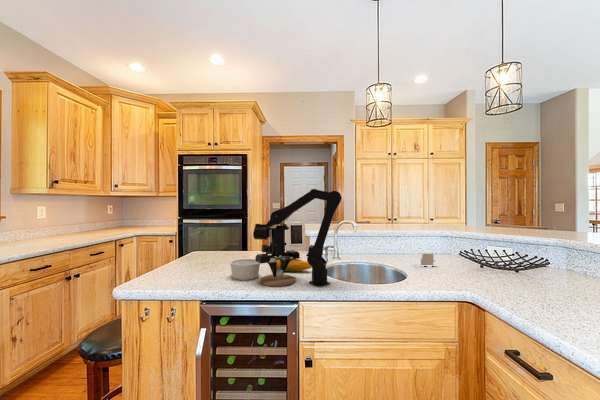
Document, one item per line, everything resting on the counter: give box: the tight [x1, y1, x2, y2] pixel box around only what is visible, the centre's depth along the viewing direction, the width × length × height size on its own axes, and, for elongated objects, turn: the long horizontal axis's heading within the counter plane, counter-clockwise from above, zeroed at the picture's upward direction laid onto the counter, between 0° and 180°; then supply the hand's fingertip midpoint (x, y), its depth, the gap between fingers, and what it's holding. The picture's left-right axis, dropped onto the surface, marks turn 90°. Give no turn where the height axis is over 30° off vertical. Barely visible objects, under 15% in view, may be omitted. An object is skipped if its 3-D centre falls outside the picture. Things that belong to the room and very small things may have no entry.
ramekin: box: [230, 258, 261, 281], centre depth 121 cm, size 13×13×7 cm
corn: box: [275, 257, 312, 273], centre depth 131 cm, size 7×8×20 cm
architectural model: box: [419, 252, 436, 266], centre depth 142 cm, size 3×7×7 cm, turn 84°
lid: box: [259, 269, 296, 288], centre depth 114 cm, size 15×15×5 cm
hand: (278, 276), depth 114 cm, fingers closed on lid, 3 cm apart
